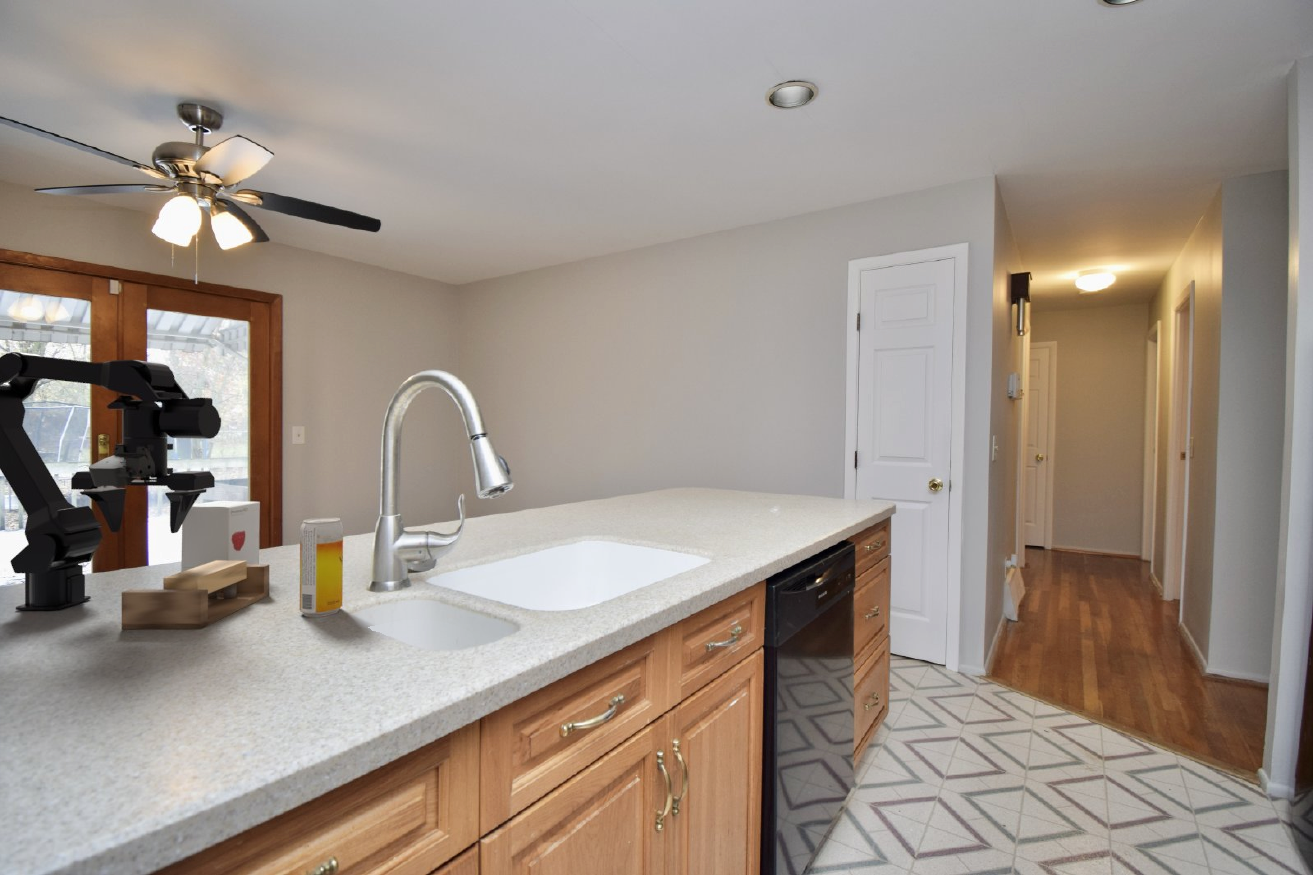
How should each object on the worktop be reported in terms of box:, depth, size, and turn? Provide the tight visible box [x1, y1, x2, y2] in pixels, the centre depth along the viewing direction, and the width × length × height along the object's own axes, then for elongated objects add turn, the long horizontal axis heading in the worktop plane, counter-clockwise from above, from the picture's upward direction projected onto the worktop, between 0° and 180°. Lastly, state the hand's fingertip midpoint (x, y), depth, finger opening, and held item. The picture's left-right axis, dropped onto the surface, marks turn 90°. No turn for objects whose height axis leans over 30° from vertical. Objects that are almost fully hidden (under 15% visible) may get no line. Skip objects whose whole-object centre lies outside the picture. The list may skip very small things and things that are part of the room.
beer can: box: [299, 516, 344, 618], centre depth 99 cm, size 6×6×15 cm
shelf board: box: [162, 560, 247, 594], centre depth 98 cm, size 5×12×3 cm, turn 3°
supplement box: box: [180, 500, 261, 572], centre depth 116 cm, size 9×9×15 cm
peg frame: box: [121, 563, 270, 630], centre depth 99 cm, size 11×18×5 cm, turn 4°
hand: (145, 532), depth 101 cm, fingers open, 9 cm apart
